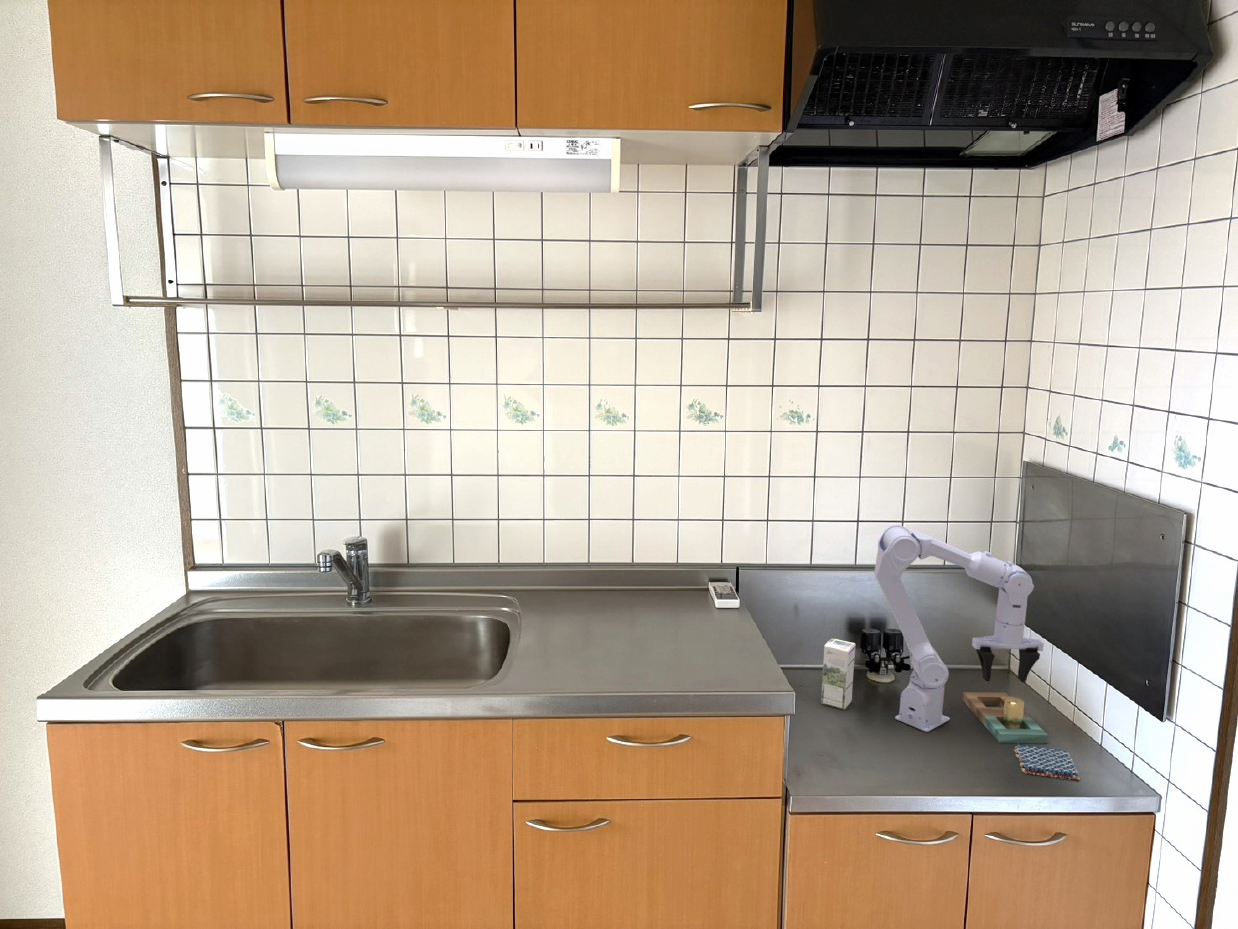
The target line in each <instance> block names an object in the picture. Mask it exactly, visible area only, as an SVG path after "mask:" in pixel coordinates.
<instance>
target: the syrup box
mask: <svg viewBox="0 0 1238 929" xmlns="http://www.w3.org/2000/svg"><path fill="white" fill-rule="evenodd" d="M855 655H856V643H855V642H850V641H847V640H841V639H838V638H831V639H829V640H827V641H826V643H825V644H824V646H823V663H822V664H823V665H822V678H821V679H822V680H821V682H822V683H821V696H820V704H821V705H826V706H829V707H833V708H837V709H840V710H845V709H846V708H847V707H848V706H849V705H850V704H851V702H852V700H853V683H854V682H853V681H854V668H855V658H856V657H855Z"/></svg>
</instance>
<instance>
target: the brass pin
mask: <svg viewBox="0 0 1238 929" xmlns="http://www.w3.org/2000/svg"><path fill="white" fill-rule="evenodd" d="M1024 709H1025V701H1024V700H1023V699H1021V698H1019V697H1015V696H1009V697H1006V698H1005V704H1004V714H1003V724H1002V725H1003V726H1004V727H1005V728H1006V729H1022V720H1023V711H1024ZM1024 712H1025V711H1024Z"/></svg>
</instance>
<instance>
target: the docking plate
mask: <svg viewBox="0 0 1238 929" xmlns="http://www.w3.org/2000/svg"><path fill="white" fill-rule="evenodd" d="M1006 697H1010V695H1008V693H1007V692H983V691H982V692H975V691H972V692H971V691H963V692H962V698H961V700H962V701H963V703H964V704H965V705H966V707H968V708H969V710H970V711H971V712H972V713H973V714H974V716H975V717H976V718H977V719H978V720H979V721H980V722H981V724H982V725H983V726H984V727H985V728H986V730H988V732H989V734H991V735H992V736H993V737H994V739H995V740H996V741H997V742H998V743H999V744H1000V743H1001V744H1003V743H1005V744H1044V743H1048V733H1047V732H1046V731H1045V730H1044V729H1042V728H1041V727H1040V726H1039V724H1038V723H1037V722H1035V720H1034V719H1032V718H1031V716H1029V714H1028V713H1027V712H1026V711H1023V720H1022V729H1006V728H1005V727H1004V726H1003V725H1002V724H1003V714H1004V704H1005V698H1006ZM987 706H989V707H987ZM991 706H993V707H991ZM994 706H1000V707H994Z"/></svg>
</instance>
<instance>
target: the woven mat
mask: <svg viewBox="0 0 1238 929" xmlns="http://www.w3.org/2000/svg"><path fill="white" fill-rule="evenodd" d="M1016 744H1017V745H1016V746H1015V747H1014V749H1013V751H1014V752H1015V757H1016V758H1017V759H1018V758H1019V759H1018V760H1019V762H1020V763H1019V766H1020V767H1021V768H1020V769H1021V771H1022V773H1024V774H1028V773H1030V775H1035V774H1036V775H1037V776H1041V777H1042V776H1043V777H1048V778H1050V777H1051V778H1056V777H1062V778H1061V779H1063V778H1064V777H1066V778H1070V779H1075V780H1074V781H1076V780H1077V781H1080V779H1081V778H1080V777H1079V771H1078V770H1077V769H1076V768H1077V766H1076V765H1075V763H1074V761H1073V759H1072V758H1071V755H1070V753H1069V752H1068V751H1067V750H1062V748H1059V750H1058V749H1054V748H1052V747H1051V748H1045V747H1044V746H1042V748H1041V747H1037V746H1036V745H1034V746H1033V745H1032V746H1031V745H1028V744H1025V745H1023V744H1021V745H1020V743H1016ZM1030 762H1031V763H1030ZM1042 772H1043V773H1042ZM1070 779H1069V780H1070Z"/></svg>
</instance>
